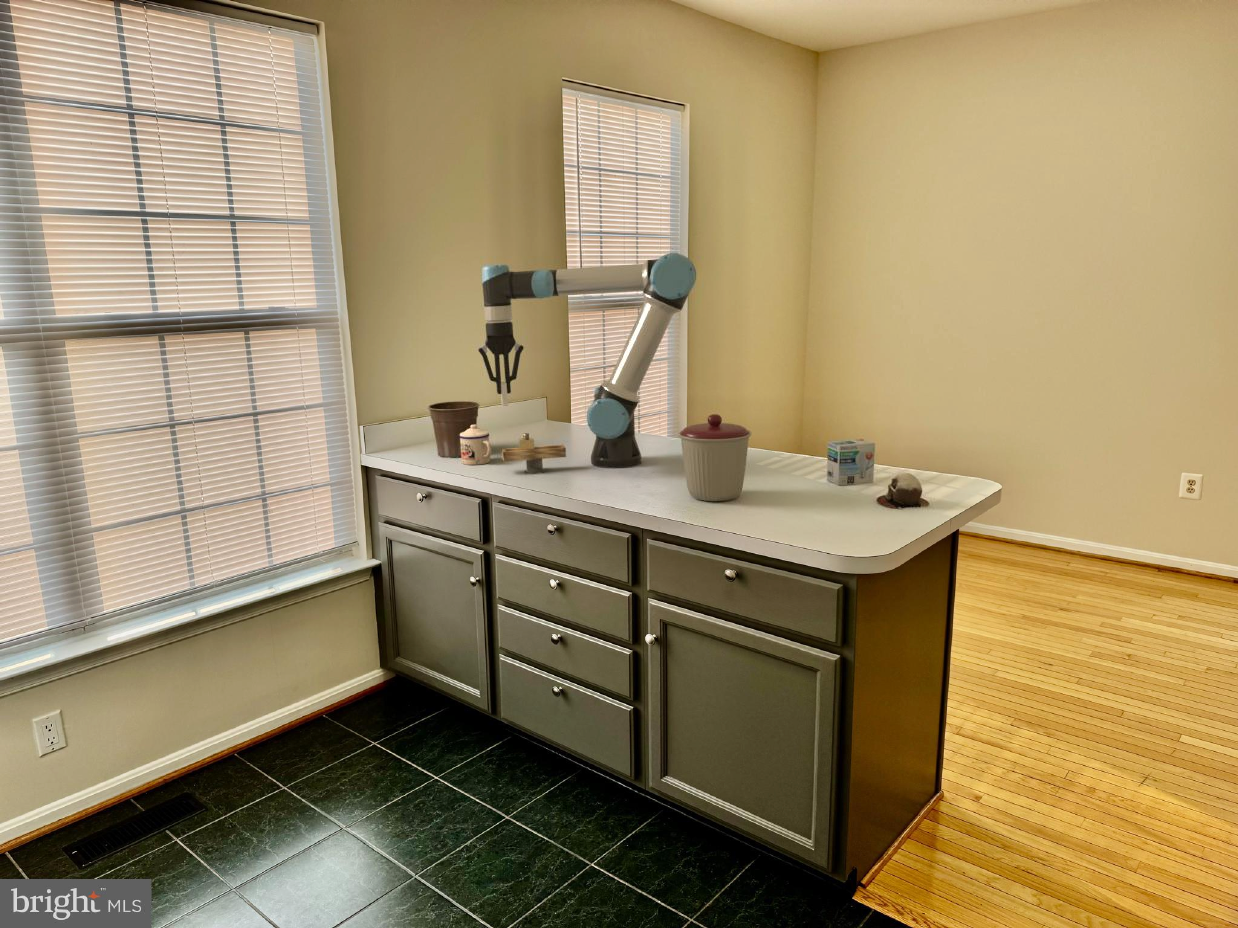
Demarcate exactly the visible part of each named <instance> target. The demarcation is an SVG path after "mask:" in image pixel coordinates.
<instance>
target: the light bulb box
mask: <svg viewBox="0 0 1238 928" xmlns="http://www.w3.org/2000/svg"><path fill="white" fill-rule="evenodd" d="M875 449H876V443H875V442H872V441H869V440H867V439H865V438H857V439H856V438H855V439H842V440H833V441H827V461H826V462H827V465H826V466H827V467H826V481H827V482H830V483H832V484H835V485H836V486H849V485H858V484H859V485H861V484H873V483H874V476H875V475H874V471H875Z"/></svg>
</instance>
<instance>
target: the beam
mask: <svg viewBox="0 0 1238 928" xmlns="http://www.w3.org/2000/svg"><path fill="white" fill-rule="evenodd" d="M566 451H567V448H566V446H564V444H558V445H557V444H554V445H542V446H534V450H521V451H520V450H519V447H513V448H512V447H510V448H502V449H501V458H502V460H503V462H515V461H525V463H526V470H527V472H528V474H531V473H532V474H541V473H542V474H543V473H544V465H543V459H544V460H545V459H557V458H558V459H559V458H566V457H567V452H566Z"/></svg>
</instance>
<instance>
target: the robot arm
mask: <svg viewBox="0 0 1238 928" xmlns="http://www.w3.org/2000/svg"><path fill="white" fill-rule="evenodd" d="M481 278H482V279H481V284H482V294H483V296H482V297H483V304H484V305H483V306H484V308H483V310H484V320H485V321H486V322H487V323H486V324H485V336H486V339H485V342H484V344H483V345H482V346H480V347H478V348H477V351H478V352H479V354H480V355H481V356H482V360H483V362H484V366H485V368H486V372H487V376H488V378H489V380H490V381H491V382H494V383H495V384H496V394H498V395H500V397H501V398H500V399H501V405H502V406H503V407H506V406H507V407H509V401H508V394H511V392H512V391H511V390H512V389H511V383H512V381H514V380H515V381H516V379H517V377H518V370H519V364H520V360H521V359H520V358H521V354H522V352H523V350H524V348H525V347H524V346H523V345H521V344H519V343H517V342H516V341H517V340H516V339H515V337H514V326H513V325H514V324H513V322H512V321H511V320H512V319H513V313H512V311H513V310H512V309H513V308H512V300H521V299H523V300H525V299H526V300H527V299H529V300H530V299H539V300H541V299H547V298H551V297H559V296H561V297H563V296H577V295H579V296H581V295H595V294H597V295H599V294H613V293H615V294H616V293H627V292H628V293H631V292H632V293H633V292H642V295H643V299H644V302H643V304H642V306H641V309H640V311H639V313H638V316H637V317H636V319H635V322H634V324H633V326H632V329H631V331H630V333H629V335H628V338H627V340H626V342H625V344H624V347H623V348H622V351H621V353H620V356H619V357H618V360H617V362H616V363H615V366H614V368H613V371H612V373H611V375H610V377H609V379H608V380H606V381H604V382H601V384H600V386H597V387H595V389H594V394H593V397H594V399H593V401H592V403H591V404H590V405H589V407H588V409H587V412H586V422H587V426H588V427H589V430H590V431H591V432H592V433H593V434H594V435H595V441H594V444H593V448H592V450H591V455H590V464H591V465H592V466H595V467H598V468H609V469H611V468H627V467H628V468H629V467H632V466H637V465H640V464H641V463H642V453H641V451H640V448H639V445H638V442H637V439H636V430H635V429H636V428H635V427H636V426H635V410H636V408H637V406H638V404H639V402H640V398H639V395H638V391H639V389H640V387H641V384H642V383H643V380H644V378H645V376H646V374H647V372H648V371H649V368H650V366H651V364H652V361H653V359H654V357H655V355H656V353H657V350H658V348H659V346H660V345H661V342H662V340H663V338H664V335H665V334H666V331H667V330H668V326H669V325H670V322H671V320H672V319H673V316H674V315H675V314H677V313H680V312H682V310H683V308H684V306H685V303H686V301H687V300H688V297H689V296H690V293H691V291H692V289H693V288H694V286H695V284H696V281H697V271H696V267H695V265H694V263H693V262H692V261H691V260H690V258H689V257H688V256H685V255H683V254H681V253H677V252H669V253H666V254H664V255H662V256H660V257H659V258H655V259H646V260H645V261H644V262H643V263H636V264H622V265H621V264H619V265H608V266H606V265H604V266H592V267H577V268H576V267H574V268H562V269H561V268H560V269H559V268H558V269H547V270H546V269H538V270H522V271H510V268H509V265H507V264H492V265H491V264H490V265H484V266H483V267H482V268H481ZM513 348H514V350H515V351H514V352H515V353H514V357H513V358H514V359H513V365H512V371H511V373H510V370H511V369H510V359H509V358H510V357H509V354H510V353H511V352H512V349H513ZM487 349H488V350H489V351H490V353H492V355H493V357H494V368H495V369H494V371H495V375H494V373H493V370H492V367H491V364H490V361H489V357H488V355H487V353H488V350H487ZM500 356H502V357H503V368H504V380H505V381H502V376H501V364H500V362H501V361H500Z"/></svg>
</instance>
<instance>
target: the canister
mask: <svg viewBox="0 0 1238 928" xmlns="http://www.w3.org/2000/svg"><path fill="white" fill-rule="evenodd" d="M706 420H707V422H705V423H697V424H691V425H689V426H686V427H684V428H683V429H682V430H680V431H679V432H678V434H677V436H678V437H679V438H680V439H681V440H680V441H681V443H680V444H681V450H682V458H683V466H684V467H683V468H684V475H685V481H686V486H687V487H686V488H687V490H688V493H689V494H690V496H691V497H692V498H694V499H696V500H699V501H703V502H704V501H705V502H724V501H725V502H726V501H730V500H734V499H736V498H738V497H739V496H740V494H741V492H743V491H742V490H743V487H744V482H745V481H744V480H745V473H746V467H747V466H746V465H747V457H748V450H749V449H748V447H749V438H750V437H751V436H752V432H751V430H749V429H747V428H746V427H744V426H742V425H739V424H734V423H728V422H727V423H725V422H722V421H723V419H722V416H721V415H720V414H717V413H715V414H714V413H713V414H709V415H708V417H707V419H706Z"/></svg>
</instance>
